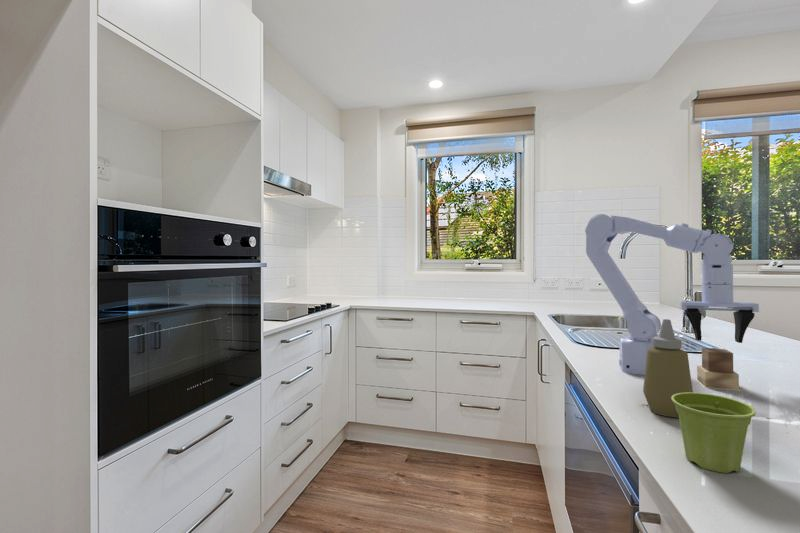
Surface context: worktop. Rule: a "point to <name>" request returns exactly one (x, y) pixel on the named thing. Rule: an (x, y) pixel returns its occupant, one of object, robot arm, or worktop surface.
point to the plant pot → (713, 429)
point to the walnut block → (717, 360)
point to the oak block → (718, 379)
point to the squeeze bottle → (666, 372)
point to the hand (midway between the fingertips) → (718, 340)
